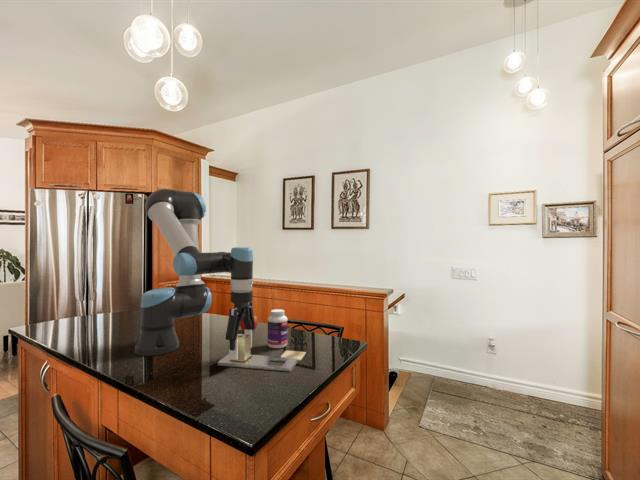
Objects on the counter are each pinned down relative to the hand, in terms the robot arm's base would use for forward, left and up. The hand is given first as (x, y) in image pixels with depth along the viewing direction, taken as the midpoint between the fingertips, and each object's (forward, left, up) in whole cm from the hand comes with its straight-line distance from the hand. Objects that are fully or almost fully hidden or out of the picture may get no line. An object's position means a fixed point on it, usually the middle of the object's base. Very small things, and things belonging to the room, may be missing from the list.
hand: (241, 352), depth 108 cm
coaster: (+16, +9, -3) cm, 19 cm away
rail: (+6, 0, -3) cm, 7 cm away
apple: (-13, +35, -3) cm, 37 cm away
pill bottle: (+7, +19, -3) cm, 20 cm away
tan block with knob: (0, 0, -3) cm, 3 cm away
